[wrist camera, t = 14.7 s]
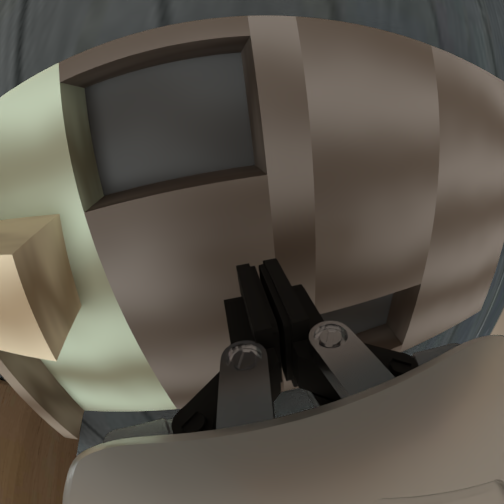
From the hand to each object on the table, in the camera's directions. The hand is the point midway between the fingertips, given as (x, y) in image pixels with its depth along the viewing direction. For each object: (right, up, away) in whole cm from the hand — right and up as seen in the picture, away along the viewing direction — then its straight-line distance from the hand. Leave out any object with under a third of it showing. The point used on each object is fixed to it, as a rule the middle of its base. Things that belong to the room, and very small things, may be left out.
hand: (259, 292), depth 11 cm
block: (-26, -17, +9) cm, 32 cm away
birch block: (-11, +1, -1) cm, 12 cm away
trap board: (+2, +3, +4) cm, 5 cm away
